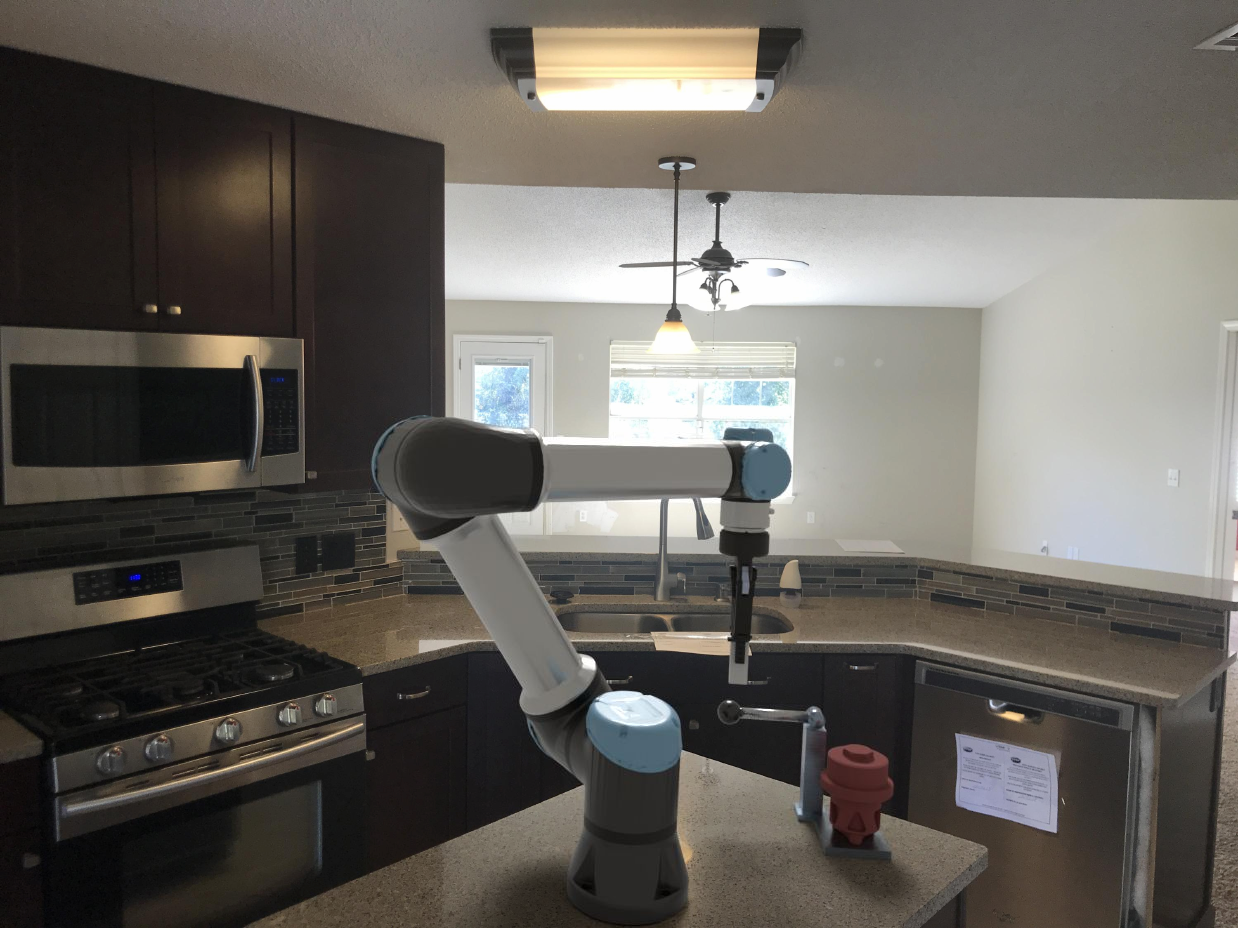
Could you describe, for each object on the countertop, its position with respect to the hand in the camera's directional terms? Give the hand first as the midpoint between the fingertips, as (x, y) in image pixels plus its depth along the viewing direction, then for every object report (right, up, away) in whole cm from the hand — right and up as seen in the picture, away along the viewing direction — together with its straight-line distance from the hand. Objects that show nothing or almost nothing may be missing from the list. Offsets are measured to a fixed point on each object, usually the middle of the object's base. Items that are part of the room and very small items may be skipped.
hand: (737, 682), depth 129 cm
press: (+14, -20, -5) cm, 25 cm away
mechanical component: (+15, -20, -9) cm, 26 cm away
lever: (+5, -7, 0) cm, 8 cm away
